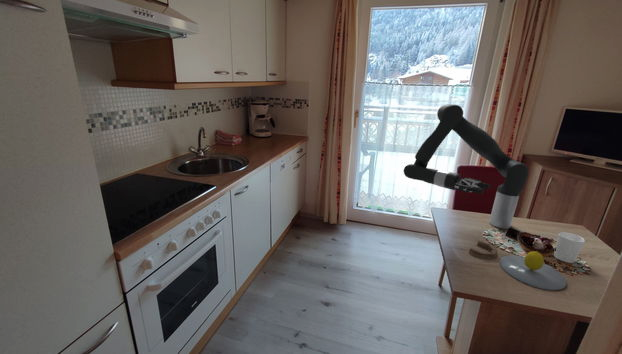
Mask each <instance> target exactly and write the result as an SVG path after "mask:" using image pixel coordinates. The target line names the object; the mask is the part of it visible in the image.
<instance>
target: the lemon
mask: <svg viewBox="0 0 622 354" xmlns="http://www.w3.org/2000/svg"><path fill="white" fill-rule="evenodd" d="M524 257H525V260H524V262H525V265H526V266H527V267H528V268H529V269H530V270H539V269H541V268H542V266H543V264H545V260H544V259H545V258H544V256H543V255H542V254H541V253H540V252H538V250H536V251H534V250H533V251H532V250H531V251H529V252H527V254H526V255H525V256H524Z"/></svg>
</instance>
